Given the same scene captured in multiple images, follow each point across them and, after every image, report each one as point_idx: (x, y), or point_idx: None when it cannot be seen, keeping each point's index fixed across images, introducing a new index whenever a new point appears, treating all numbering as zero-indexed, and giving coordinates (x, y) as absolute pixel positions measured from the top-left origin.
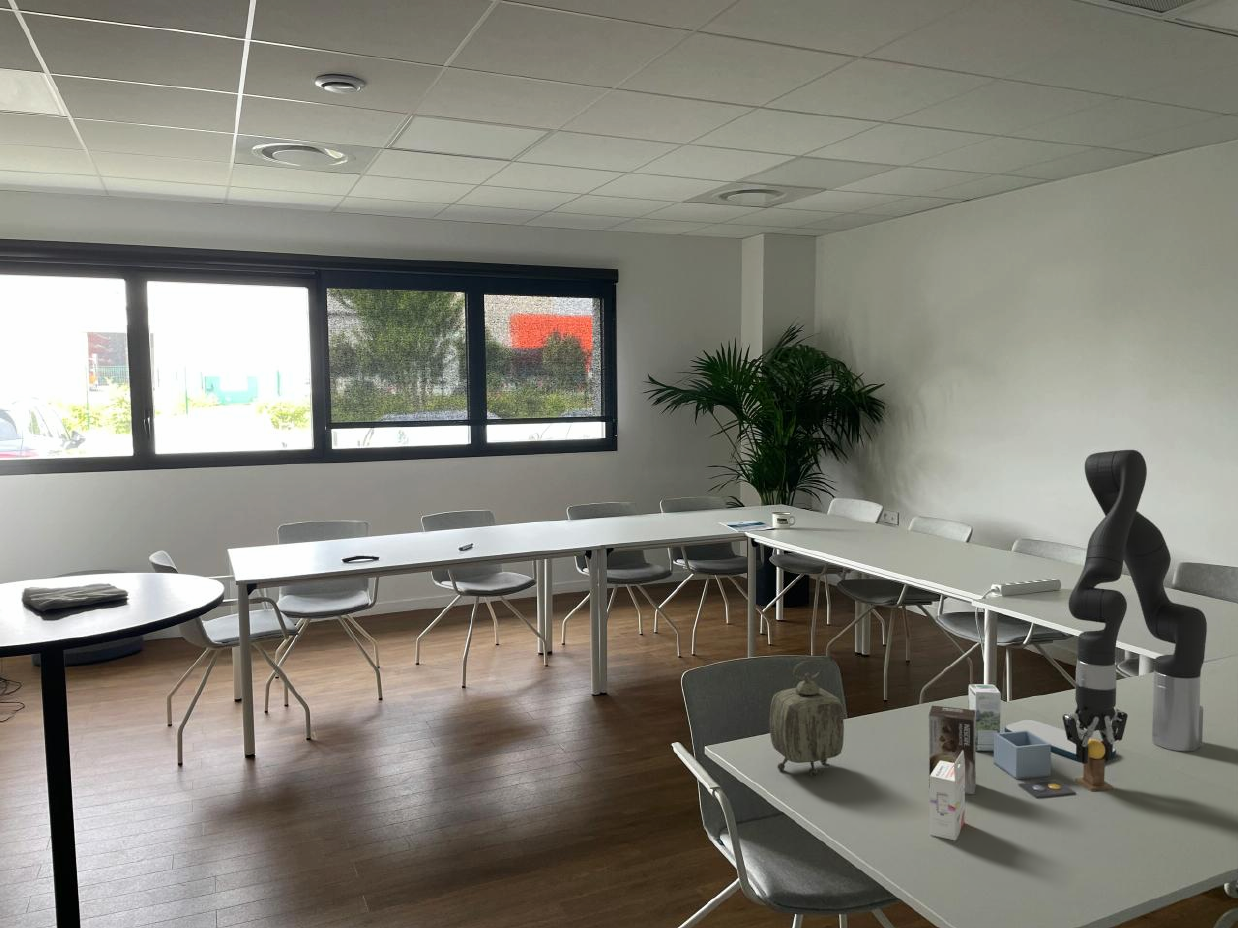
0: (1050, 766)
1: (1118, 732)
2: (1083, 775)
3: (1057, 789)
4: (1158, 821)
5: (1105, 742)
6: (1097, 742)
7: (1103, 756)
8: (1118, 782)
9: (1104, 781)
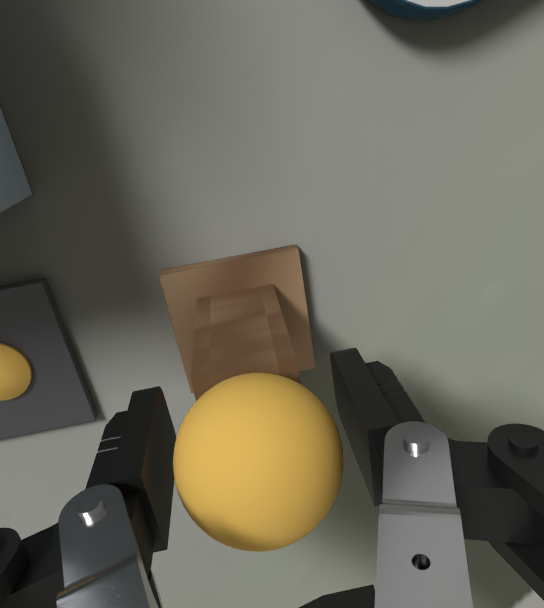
0: (8, 207)
1: (535, 589)
2: (196, 310)
3: (6, 396)
4: (318, 594)
5: (380, 469)
6: (271, 547)
7: (337, 381)
8: (388, 291)
9: (305, 316)
